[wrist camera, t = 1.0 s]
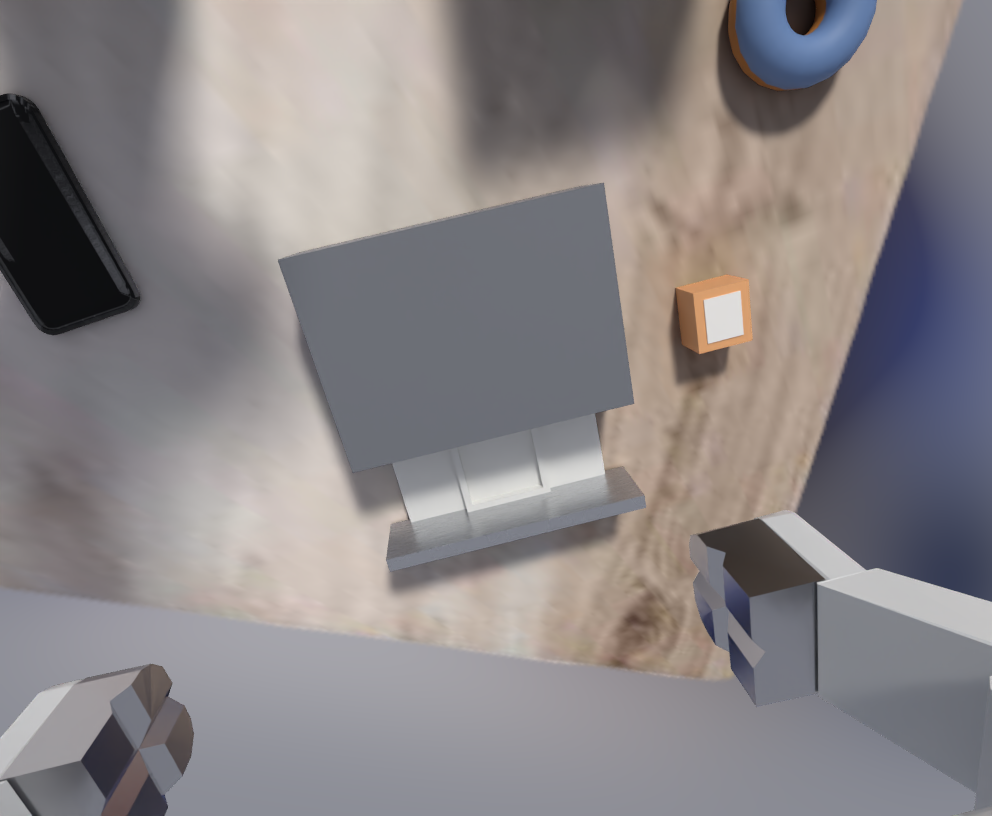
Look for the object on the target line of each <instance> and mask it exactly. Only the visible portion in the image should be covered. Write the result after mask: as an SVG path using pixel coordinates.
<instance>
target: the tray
mask: <svg viewBox="0 0 992 816" xmlns="http://www.w3.org/2000/svg"><path fill="white" fill-rule="evenodd" d="M392 465H393V468H394V472H395V475H396V478H397V481H398V484H399V487H400V490H401V493H402V496H403V500H404V503H405V506H406V509H407V512H408V515H409V518H410V519H409V520H405V521H401V522H397V523H393V524H391V527H390V535H389V542H388V550H387V557H386V561H387V564H388V567H389V570H390V572H391V571H395V570H399V569H403V568H407V567H411V566H415V565H419V564H423V563H427V562H431V561H435V560H439V559H443V558H447V557H451V556H455V555H459V554H463V553H467V552H471V551H475V550H479V549H483V548H487V547H491V546H495V545H499V544H503V543H507V542H511V541H515V540H519V539H523V538H527V537H531V536H535V535H539V534H543V533H546V532H550V531H554V530H558V529H562V528H566V527H570V526H574V525H578V524H582V523H586V522H590V521H594V520H598V519H602V518H606V517H610V516H614V515H618V514H622V513H626V512H630V511H634V510H638V509H642V508H646V503H645V496H644V494H643V493H642V491H641V490H640V489H639V487H638V486H637V485H636V483H635V482H634V480H633V479H632V478H631V476H630V475H629V474H628V472H627V471H626V470H625V468H624V467H623V466H622V467H618V468H614V469H610V470H606V471H605V470H604V464H603V458H602V452H601V446H600V440H599V434H598V428H597V422H596V416H595V413H594V414H590V415H586V416H582V417H578V418H574V419H570V420H566V421H562V422H558V423H554V424H550V425H545V426H541V427H537V428H533V429H529V430H525V431H521V432H517V433H513V434H509V435H505V436H501V437H497V438H493V439H489V440H485V441H481V442H477V443H472V444H468V445H464V446H460V447H456V448H452V449H448V450H444V451H440V452H436V453H432V454H428V455H424V456H420V457H416V458H412V459H408V460H403V461H399V462H395V463H392Z"/></svg>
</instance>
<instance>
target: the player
mask: <svg viewBox="0 0 992 816" xmlns="http://www.w3.org/2000/svg"><path fill="white" fill-rule="evenodd" d="M278 262H279V265H280V268H281V271H282V274H283V276H284V279H285V282H286V285H287V288H288V291H289V293H290V296H291V299H292V302H293V305H294V308H295V310H296V313H297V316H298V319H299V322H300V325H301V327H302V330H303V333H304V336H305V339H306V342H307V344H308V347H309V350H310V353H311V356H312V359H313V361H314V364H315V367H316V370H317V373H318V376H319V378H320V381H321V384H322V387H323V390H324V393H325V395H326V398H327V401H328V404H329V407H330V410H331V412H332V415H333V418H334V421H335V424H336V427H337V429H338V432H339V435H340V438H341V441H342V444H343V446H344V449H345V452H346V455H347V458H348V461H349V463H350V466H351V469H352V472H353V473H355V472H359V471H363V470H367V469H371V468H375V467H379V466H383V465H387V464H391V463H395V462H399V461H403V460H408V459H412V458H416V457H420V456H424V455H428V454H432V453H436V452H440V451H444V450H448V449H452V448H456V447H460V446H464V445H468V444H472V443H477V442H481V441H485V440H489V439H493V438H497V437H501V436H505V435H509V434H513V433H517V432H521V431H525V430H529V429H533V428H537V427H541V426H545V425H550V424H554V423H558V422H562V421H566V420H570V419H574V418H578V417H582V416H586V415H590V414H594V413H598V412H602V411H606V410H610V409H614V408H619V407H623V406H627V405H631V404H634V398H633V391H632V384H631V377H630V369H629V362H628V355H627V348H626V340H625V333H624V326H623V318H622V311H621V304H620V297H619V289H618V282H617V275H616V268H615V260H614V253H613V246H612V239H611V231H610V224H609V217H608V209H607V202H606V195H605V188H604V183H599V184H592V185H585V186H578V187H574V188H570V189H566V190H562V191H557V192H553V193H549V194H545V195H540V196H536V197H532V198H528V199H523V200H519V201H515V202H511V203H507V204H502V205H498V206H494V207H490V208H485V209H481V210H477V211H473V212H468V213H464V214H460V215H456V216H452V217H447V218H443V219H439V220H435V221H430V222H426V223H422V224H418V225H413V226H409V227H405V228H401V229H397V230H392V231H388V232H384V233H380V234H375V235H371V236H367V237H363V238H358V239H354V240H350V241H346V242H341V243H337V244H333V245H329V246H325V247H320V248H316V249H312V250H308V251H303V252H299V253H296V254H294V255H291V256H288V257H285V258H282V259H279V260H278Z"/></svg>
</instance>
